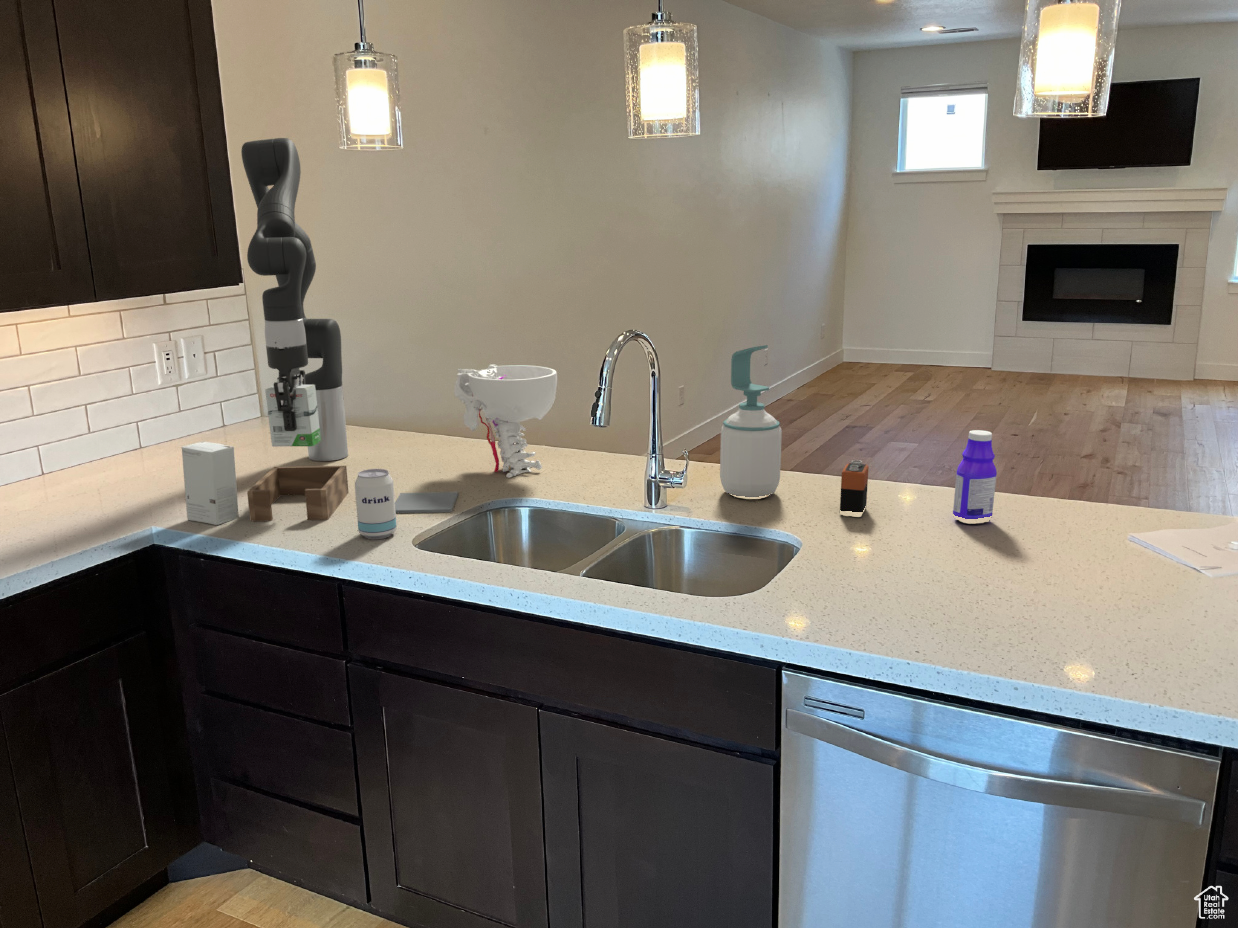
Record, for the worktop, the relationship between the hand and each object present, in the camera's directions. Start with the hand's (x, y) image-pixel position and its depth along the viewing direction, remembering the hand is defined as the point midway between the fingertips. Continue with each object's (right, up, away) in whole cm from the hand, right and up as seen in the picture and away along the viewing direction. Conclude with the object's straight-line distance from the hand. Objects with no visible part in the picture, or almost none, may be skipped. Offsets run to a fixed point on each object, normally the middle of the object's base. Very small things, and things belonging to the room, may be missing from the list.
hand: (294, 426), depth 199 cm
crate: (0, -16, +4) cm, 17 cm away
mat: (+25, -16, +5) cm, 30 cm away
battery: (+110, -17, -3) cm, 112 cm away
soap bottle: (+92, -14, +10) cm, 93 cm away
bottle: (+132, -19, -9) cm, 133 cm away
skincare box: (-15, -18, -3) cm, 24 cm away
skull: (+39, -9, +29) cm, 49 cm away
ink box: (0, -4, +1) cm, 4 cm away
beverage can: (+20, -21, -13) cm, 32 cm away
